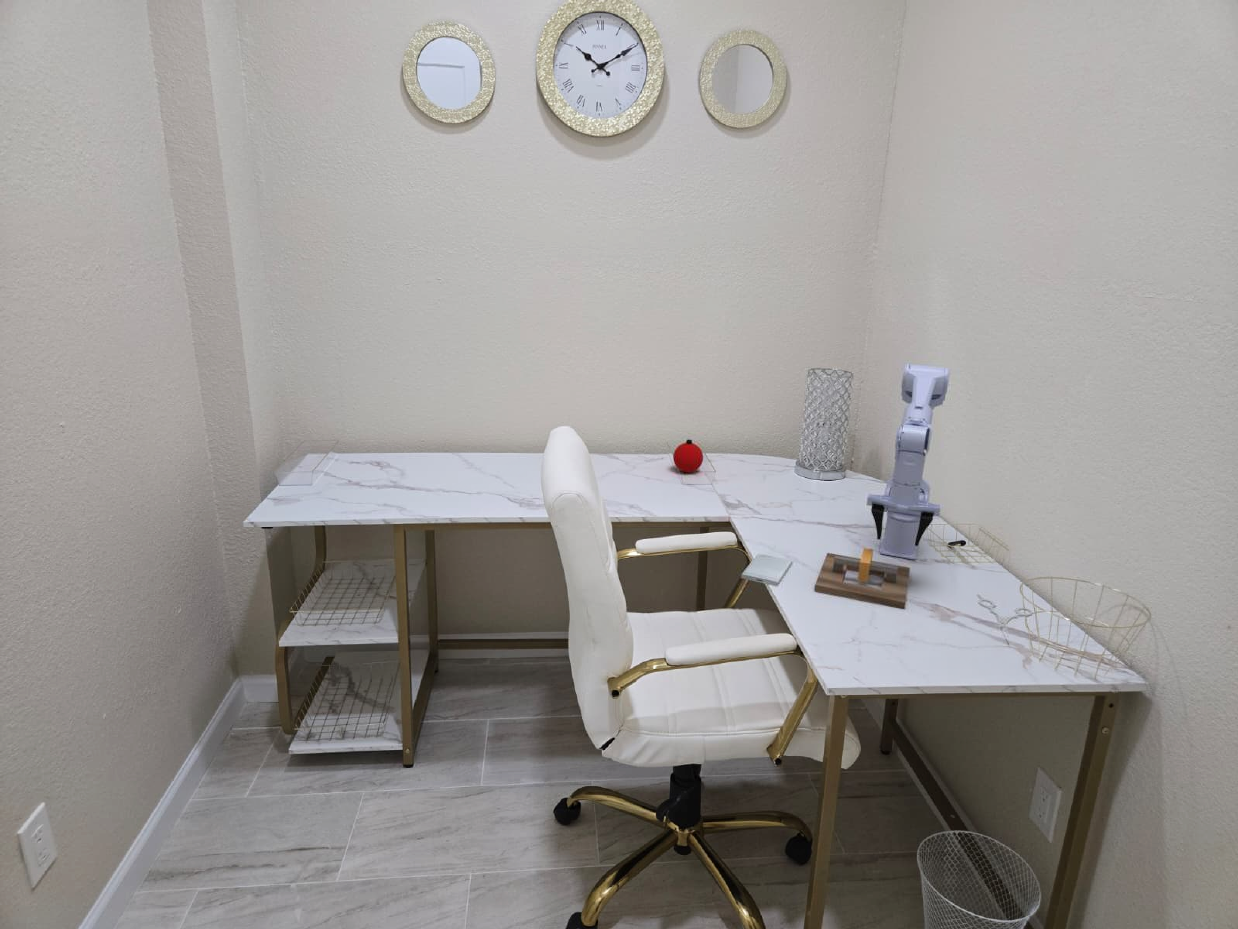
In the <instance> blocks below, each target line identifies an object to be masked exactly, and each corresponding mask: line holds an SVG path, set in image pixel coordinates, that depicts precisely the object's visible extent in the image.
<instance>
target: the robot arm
mask: <svg viewBox="0 0 1238 929" xmlns="http://www.w3.org/2000/svg"><path fill="white" fill-rule="evenodd" d="M950 373H951V369H950V368H949V367H948V366H947V367H946V366H945V367H940V366H933V365H932V366H929V365H921V364H920V365H919V364H911V363H909V362H907V364H905V365H904V368H903V373H902V379H901V396H902V397H901V400H902V401H903V402H905V403H906V404H907V405H906V407H905V408H904V412H903V417H902V421H901V424H900V425H899V426H898V428H897V430H896V437H895V443H894V447H895V448H894V450H895V451H894V452H895V455H894V460H895V461H894V468H893V474H892V477H890V478H889V479H888V480H887V482H886V487H885V489H884V494H872V493H869V494H868V495H867V500H866V506H870V507H871V509H870V510H871V515H872V517H873V520H874V524H875V529H876V540H881V539H882V540H881V545H880V549H879V554H881V555H886V556H891V557H898V558H902V559H908V560H913V561H914V560H916V559H917V553H918V552H917V551H918V547H919V544H920V541H921V540H922V537H923V535H924V533H925V532H926V530H927V529H928V527H929V526H930V524H931V523H932V522H933V520H934V517H938V518H939V517H940V512H941V508H942V507H941V506H942V505H941V504H938V503H937V504H935V503H931V502H930V497H931V494H930V493H931V487H930V484H929V482H927V481H926V480H925V479H924V478H923V474H924V469H925V463H926V458H927V457H926V456H928V453H929V451H930V445H931V440H932V422H933V421H932V420H933V415H934V409H935V408H936V407H940V406H942V405H943V404H944V401H945V400H946V394H947V392H948V386H949V381H950V380H949V378H950ZM925 451H926V452H925ZM884 513H886V524H885V529H884V531H885V532H884V536H883V538H882V534H883V521H884V515H885V514H884Z"/></svg>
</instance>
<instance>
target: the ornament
mask: <svg viewBox="0 0 1238 929" xmlns="http://www.w3.org/2000/svg"><path fill="white" fill-rule="evenodd" d="M672 459H673V463H674V465H675V467H676V468H677V469H678V470H679V471H681V472H684V473H693V472H695V471H697V470H698V469H699V468H700V467H701V466H702V465H703V462H704V454H703V451H702V449H701V447H699V445H697V444H695V443H694V442H693V440H692V439H690V438H689V439H686V441H685V442H683V443H681V444H679V445H678V446H677V447H676V448H675V450H674V451H673V458H672Z"/></svg>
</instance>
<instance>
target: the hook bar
mask: <svg viewBox="0 0 1238 929" xmlns="http://www.w3.org/2000/svg"><path fill="white" fill-rule="evenodd" d="M844 565H848V566H853V567H859V565H860V560H856V559H850V558H845V557H839V556H835V558H834V564H833V572H835V573H841V574H842V572H843V567H844ZM869 569H870V570H875V571H881V572H886V573H887V574H886V581H885V582H888V583H894V584H895V582H896V576H897V569H898V567H895V566H889V565H884V564H878V563H873V562H871V564H870V568H869Z"/></svg>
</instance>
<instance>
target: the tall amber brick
mask: <svg viewBox="0 0 1238 929" xmlns="http://www.w3.org/2000/svg"><path fill="white" fill-rule="evenodd" d="M873 555H874V549H873V548H866V547H863V550H862V554H861V557H860V559H861V560H860V565H859V572H858V575H857V582H862V583H868V582H869V581H868V580H869V575H870V574H869V571H870V569H869V568H870V564H871V562H872V561H873Z"/></svg>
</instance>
